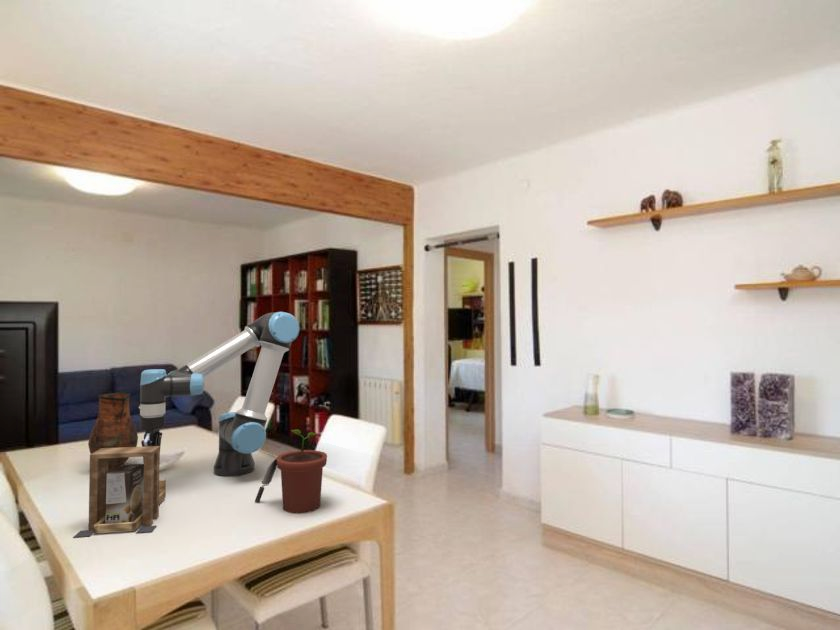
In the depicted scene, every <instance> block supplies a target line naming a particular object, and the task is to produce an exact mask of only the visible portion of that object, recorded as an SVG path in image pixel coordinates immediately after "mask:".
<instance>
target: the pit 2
mask: <svg viewBox="0 0 840 630" xmlns="http://www.w3.org/2000/svg"><path fill="white" fill-rule="evenodd" d="M157 527H158V525H151V526H143V525H141V526H140V528H139V529H138V530H136V533H135V534H150V533H153V532H154V530H155V529H157Z"/></svg>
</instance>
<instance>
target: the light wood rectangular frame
mask: <svg viewBox="0 0 840 630" xmlns="http://www.w3.org/2000/svg"><path fill="white" fill-rule="evenodd" d="M166 484H167V481H166V478H163V479H159V505H160V504H161V503H162V502H163V501H164V500H165V499H166V493H167V491H166V490H167V489H166V486H167V485H166ZM142 525H143V512H142V513H141V514H140V515H139V516H138V517H137V519H136V520H135V521H134V522H125V523H110V524H105V516H104V517H103V518H102V519H101V520H100V521H99V522H97V523H96V524H95V525H94V528H93V534H104V533H105V534H106V533H116V532H117V533H118V532H132V531H137V529H138V528H139V527H141V526H142Z"/></svg>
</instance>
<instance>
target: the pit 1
mask: <svg viewBox="0 0 840 630" xmlns="http://www.w3.org/2000/svg"><path fill="white" fill-rule="evenodd" d="M92 535H94V533H93V530H89V529H84V530H80V531H78V532H77V533H76V534H75V535H74V536H72V538H73V539H78V538H90V537H91V536H92Z"/></svg>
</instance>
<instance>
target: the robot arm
mask: <svg viewBox="0 0 840 630" xmlns="http://www.w3.org/2000/svg"><path fill="white" fill-rule="evenodd" d="M299 333H300V323H299V321H298V319H297V318H296V316H294V315H293V314H291V313H288V312H284V311H277V312H268V313H265V314H262V316H260V317H259V318H257V319H255V320H254V321H253V322H251V323H250V324H248V325H246V326H244V330H242V331H240V332H239V333H237V334H236V335H234V336H233V337H231V338H229V339H227V340H225V341H224V342H222V343H220V344H219V345H218V346H215V347H213V348H212V349H210V350H209V351H207V352H205V353H204V354H202V355H200V356H198V357H197V358H195V359H194V360H192V361H190V362H189V363H187V364H185V365H184V366H182V367H179V368H178V369H174V370H172V371H170V372H169V373H167V371H166V369H164V368H163V369H161V368H159V369H157V368H155V369H154V368H153V369H145V370H143V371H141V374H140V384H139V387H140V389H139V390H140V391H139V396H140V397H139V398H140V399H139V401H140V402H139V406H138V409H139V415H140V417H139V429H142V430H145V431H144V435H143V440H141V442H140V443H141V447H148V446H160V447H161V445H162V437H163V432H161V430H160V429H161V428H164V427H165V426H166V416H165V414H166V398H170V397H186V396H191V397H193V396H198V395H201V394H203V392H204V391H205V377H207V376H209V375H210V374H212V373H213V372H215V371H217V370H218V369H220V368H221V367H223V366H225V365H226V364H228V363H229V362H231V361H233V360H234V359H236V358H238V357H239V356H241V355H243V354H244V353H246V352H248V351H249V350H251V349H252V348H255V347H257V348H258V347H260V346H261V348H260V351H259V354H258V358H257V360H256V363H255V366H254V369H253V373H252V377H251V379H250V382H249V385H248V388H247V391H246V395H245V398H244V400H243V404H242V407H241V408H240V409H238V410H237V411H234V412H224V413H221V414H220V415H219V419H218V454H217V456H216V458H215V462H214V465H213V474H215V475H216V476H220V477H236V476H241V475H246V474H249V473H251V472H253V471H254V470H255V460H254V456H253V453H255V452H257V451H259V450H260V449H261V448H262V446H263V445H264V444H265V442H266V439H267V432H266V429H265V428H266V425H267V421H268V418H267V415H266V410H267V407H268V404H269V401H270V398H271V395H272V391H273V388H274V385H275V383H276V379H277V377H278V373H279V369H280V367H281V363H282V360H283V357H284V354H285V353H286V352H288V351H290V348H291V346H292V342H294V341H295V340H296V339H297V338H298V336H299ZM142 458H143V459H142V460H143V463H144V457H142Z"/></svg>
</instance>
